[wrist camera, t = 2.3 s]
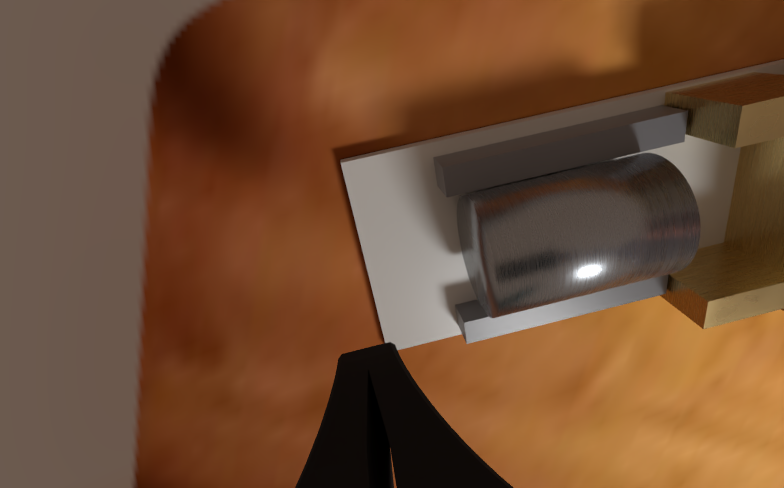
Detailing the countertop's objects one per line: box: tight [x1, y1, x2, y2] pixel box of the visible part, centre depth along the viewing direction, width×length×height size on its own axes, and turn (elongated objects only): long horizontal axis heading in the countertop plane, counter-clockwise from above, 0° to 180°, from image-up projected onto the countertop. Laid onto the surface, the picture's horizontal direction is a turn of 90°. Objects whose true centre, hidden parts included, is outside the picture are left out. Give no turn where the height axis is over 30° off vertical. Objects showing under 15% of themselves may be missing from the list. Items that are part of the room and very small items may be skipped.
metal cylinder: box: [457, 153, 701, 318], centre depth 14 cm, size 4×6×4 cm, turn 101°
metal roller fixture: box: [340, 59, 784, 350], centre depth 16 cm, size 8×19×2 cm, turn 101°
